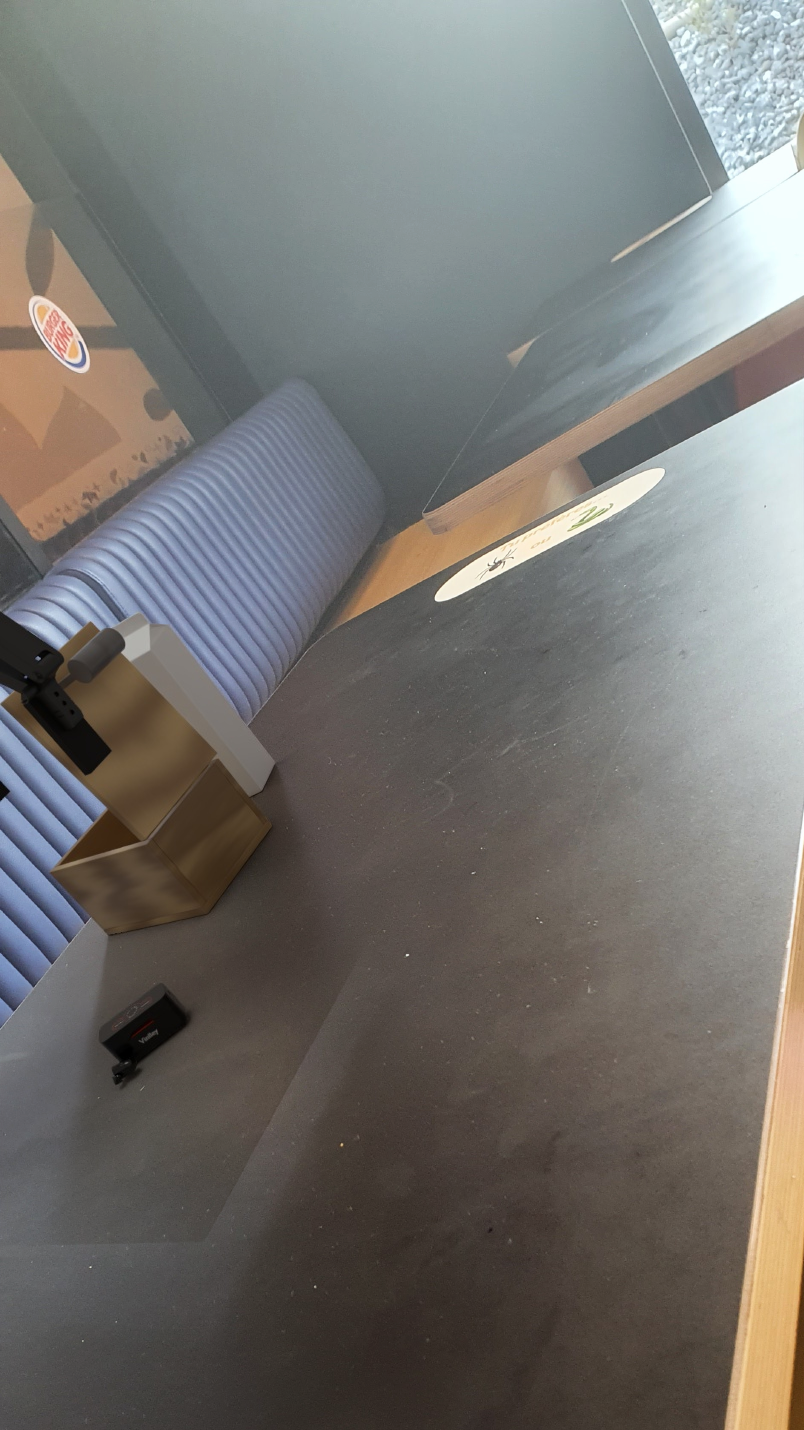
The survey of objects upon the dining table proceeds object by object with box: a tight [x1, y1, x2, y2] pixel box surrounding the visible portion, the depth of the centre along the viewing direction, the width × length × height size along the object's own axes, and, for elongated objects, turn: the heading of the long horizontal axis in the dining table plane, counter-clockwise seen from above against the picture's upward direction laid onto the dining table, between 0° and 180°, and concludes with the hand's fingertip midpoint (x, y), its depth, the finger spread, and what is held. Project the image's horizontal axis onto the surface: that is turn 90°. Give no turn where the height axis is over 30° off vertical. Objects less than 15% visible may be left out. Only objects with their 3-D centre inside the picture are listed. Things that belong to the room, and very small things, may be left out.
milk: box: [111, 611, 276, 798], centre depth 123 cm, size 6×6×22 cm
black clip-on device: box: [97, 982, 189, 1086], centre depth 91 cm, size 5×7×3 cm, turn 113°
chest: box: [48, 759, 273, 936], centre depth 114 cm, size 16×13×9 cm
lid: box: [0, 620, 217, 841], centre depth 102 cm, size 16×13×7 cm
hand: (46, 784), depth 88 cm, fingers open, 13 cm apart
